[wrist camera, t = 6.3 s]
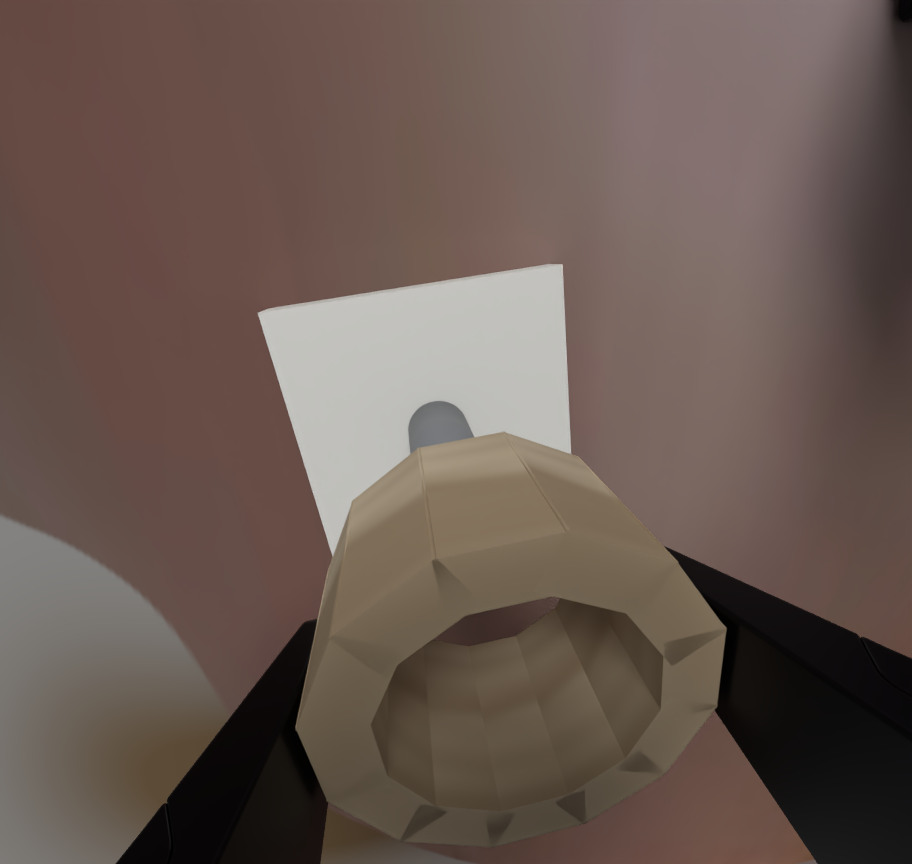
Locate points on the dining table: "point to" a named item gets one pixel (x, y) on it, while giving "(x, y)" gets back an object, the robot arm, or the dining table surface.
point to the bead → (500, 650)
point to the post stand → (419, 374)
